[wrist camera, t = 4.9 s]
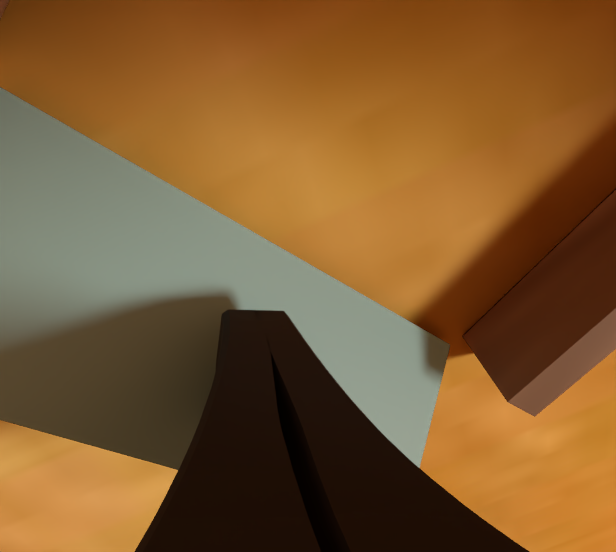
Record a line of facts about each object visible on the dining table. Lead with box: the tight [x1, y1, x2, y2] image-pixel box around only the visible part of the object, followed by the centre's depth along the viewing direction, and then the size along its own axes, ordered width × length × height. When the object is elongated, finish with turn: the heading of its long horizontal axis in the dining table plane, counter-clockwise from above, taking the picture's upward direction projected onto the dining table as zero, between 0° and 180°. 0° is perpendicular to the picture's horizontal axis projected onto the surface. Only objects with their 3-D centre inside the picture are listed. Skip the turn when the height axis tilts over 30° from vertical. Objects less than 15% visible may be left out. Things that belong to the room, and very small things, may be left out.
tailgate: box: [0, 87, 450, 470], centre depth 11 cm, size 1×12×5 cm
